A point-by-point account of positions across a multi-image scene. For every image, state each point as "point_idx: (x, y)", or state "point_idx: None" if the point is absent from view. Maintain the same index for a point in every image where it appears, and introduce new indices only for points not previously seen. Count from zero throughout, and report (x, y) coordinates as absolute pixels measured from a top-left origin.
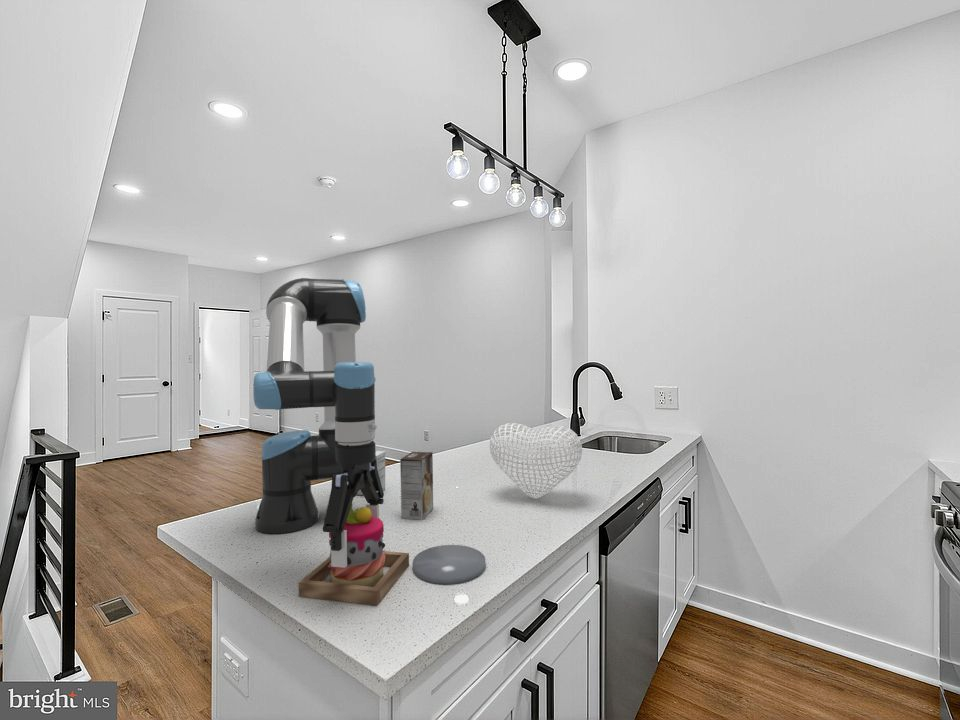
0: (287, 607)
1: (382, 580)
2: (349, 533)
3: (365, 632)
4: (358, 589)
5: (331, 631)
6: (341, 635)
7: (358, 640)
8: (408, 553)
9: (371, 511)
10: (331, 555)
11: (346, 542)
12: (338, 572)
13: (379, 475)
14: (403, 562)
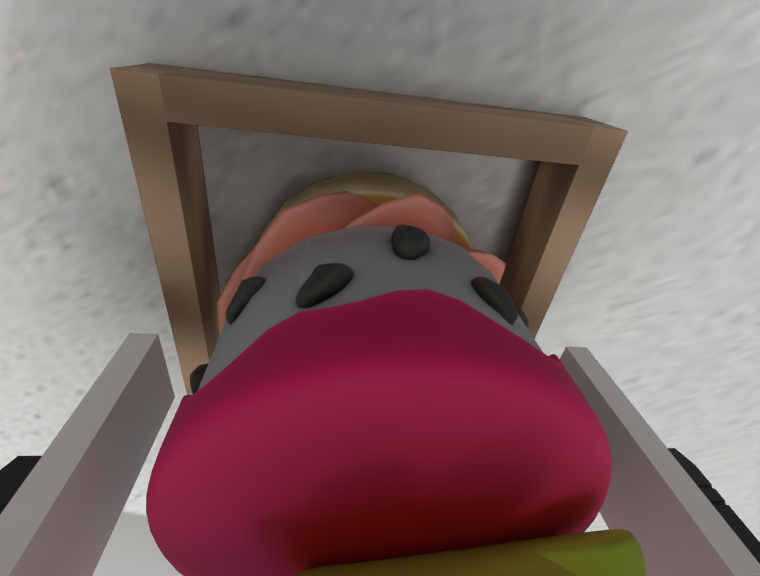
0: (28, 56)
1: None
2: (178, 570)
3: (67, 405)
4: (184, 378)
5: (8, 327)
6: (11, 359)
7: (23, 403)
8: None
9: (657, 542)
10: (92, 388)
11: (100, 544)
12: (225, 300)
13: None
14: None
